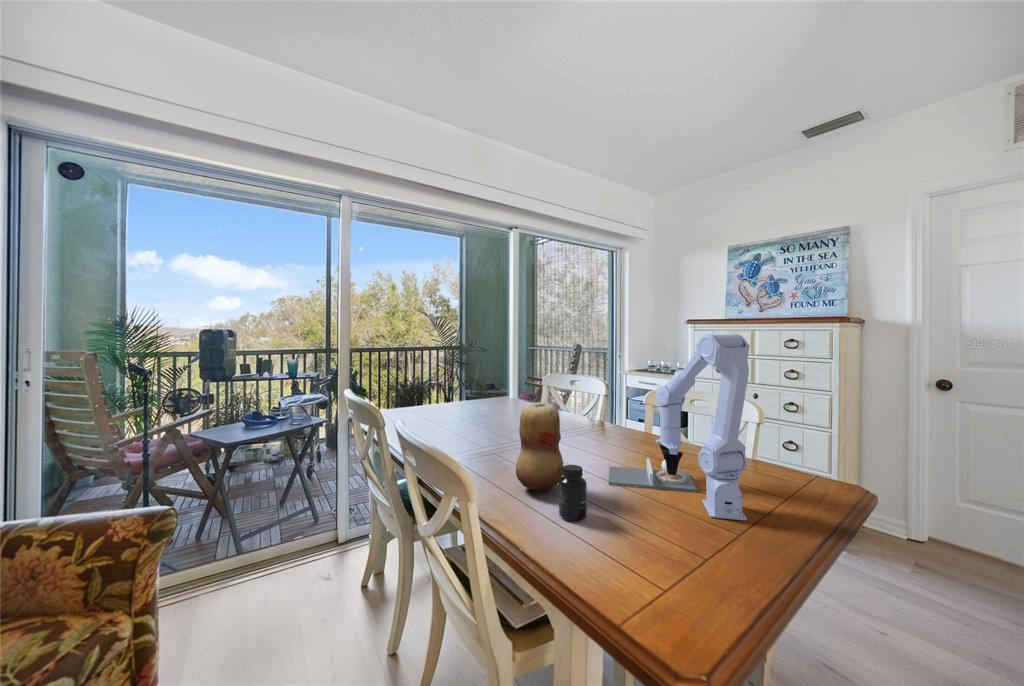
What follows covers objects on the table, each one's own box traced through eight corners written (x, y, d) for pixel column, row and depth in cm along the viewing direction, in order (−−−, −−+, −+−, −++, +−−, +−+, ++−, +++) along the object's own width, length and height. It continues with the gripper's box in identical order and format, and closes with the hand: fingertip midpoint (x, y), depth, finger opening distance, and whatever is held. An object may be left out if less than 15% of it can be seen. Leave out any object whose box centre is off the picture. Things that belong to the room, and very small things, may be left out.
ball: (681, 478, 112) (680, 461, 112) (662, 477, 114) (662, 460, 114) (678, 472, 117) (677, 456, 117) (660, 471, 118) (660, 455, 118)
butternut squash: (524, 502, 103) (523, 409, 102) (510, 484, 115) (509, 401, 115) (572, 495, 106) (570, 405, 106) (553, 478, 119) (552, 398, 119)
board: (697, 492, 107) (697, 477, 107) (608, 484, 114) (608, 470, 113) (688, 474, 121) (688, 461, 120) (609, 468, 127) (609, 456, 127)
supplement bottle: (589, 522, 91) (588, 472, 91) (560, 522, 91) (559, 472, 91) (584, 509, 98) (583, 462, 98) (557, 509, 98) (557, 463, 98)
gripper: (653, 420, 123) (654, 462, 123) (658, 431, 109) (659, 479, 109) (677, 421, 121) (678, 464, 122) (685, 432, 107) (685, 481, 108)
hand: (670, 471), depth 115 cm, fingers closed on ball, 5 cm apart
